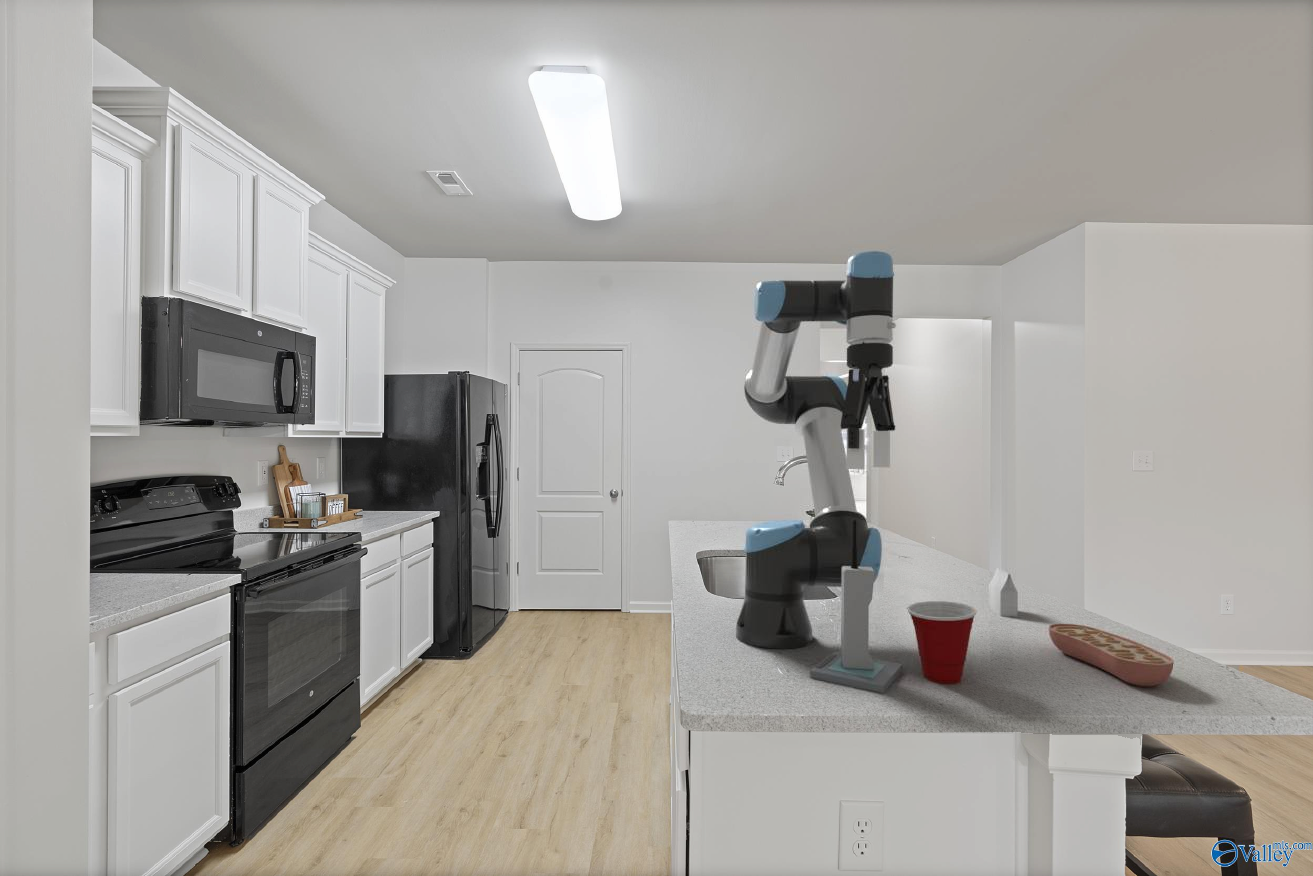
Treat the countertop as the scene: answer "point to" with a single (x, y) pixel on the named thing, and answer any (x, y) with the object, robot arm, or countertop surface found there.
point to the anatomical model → (1113, 654)
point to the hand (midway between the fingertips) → (869, 468)
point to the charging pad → (857, 673)
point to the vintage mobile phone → (856, 612)
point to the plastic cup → (942, 638)
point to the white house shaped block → (1003, 594)
